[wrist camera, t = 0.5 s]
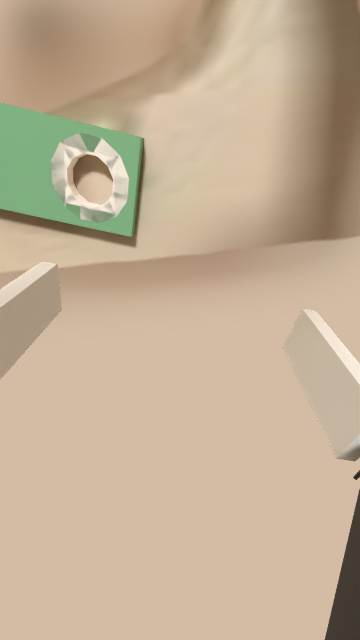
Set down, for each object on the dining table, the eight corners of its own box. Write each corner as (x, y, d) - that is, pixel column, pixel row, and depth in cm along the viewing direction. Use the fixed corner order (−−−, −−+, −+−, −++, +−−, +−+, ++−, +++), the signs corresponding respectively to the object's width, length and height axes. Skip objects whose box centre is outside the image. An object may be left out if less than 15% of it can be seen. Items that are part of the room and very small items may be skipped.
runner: (-90, 81, 30) (-107, 76, 28) (143, 138, 32) (140, 137, 30) (-59, 191, 36) (-72, 193, 34) (133, 233, 38) (131, 237, 36)
